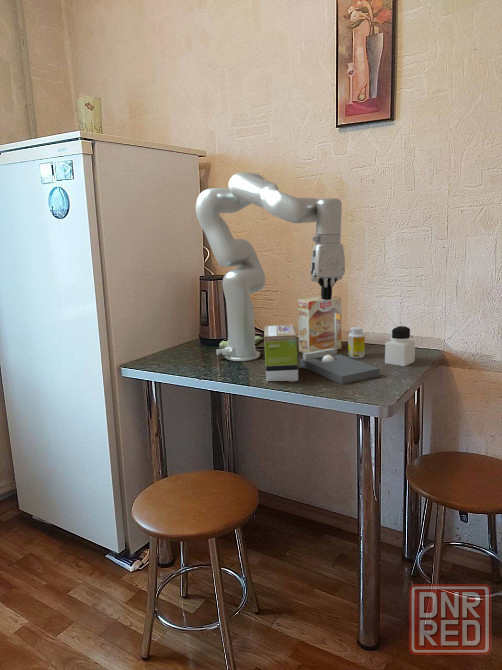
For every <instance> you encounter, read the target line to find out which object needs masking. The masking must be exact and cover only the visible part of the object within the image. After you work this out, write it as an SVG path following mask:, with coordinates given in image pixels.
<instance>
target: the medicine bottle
mask: <svg viewBox="0 0 502 670" xmlns="http://www.w3.org/2000/svg"><path fill="white" fill-rule="evenodd" d="M384 344H385V345H384V363H385V364H387V365H394V366H401V367H406V366H409V365H411V364H414V363H415V358H416V356H415V355H416V341H415V340H411V329H410V328H409V327H408V326H405V325H404V326H403V325H397V326H396V325H395V326H393V327H391V328H390V340H389V341H386V342H384Z"/></svg>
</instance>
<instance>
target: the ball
mask: <svg viewBox="0 0 502 670" xmlns="http://www.w3.org/2000/svg"><path fill="white" fill-rule="evenodd" d="M330 361H334V358H333V357H332V356H331V355H325V356H324V357H323V358H322V362H324V363H325V362H330Z"/></svg>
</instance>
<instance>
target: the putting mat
mask: <svg viewBox="0 0 502 670" xmlns="http://www.w3.org/2000/svg"><path fill="white" fill-rule="evenodd" d="M337 319H338V320H341V321H342V313H341V314H337V313H335V349H334V348H331V349H325V350H320V351H314V352H308V353H303V352H302V358H300V367H302V368H304V369H306V370H309V371H311V372H313V373H316V374H318V375H320V376H322V377H325V378H327V379H329V380H331V381H334V382H336V383H338V384H340V385H344V384H349V383H353V382H359V381H363V380H367V379H372V378H377V377H380V375H381V374H380V373H381V372H380V369H381V368H379V367H376V366H374V365H370V364H368V363H365V362H362V361H360V360H357V359H355V358H351V357H349V356H346V355H343V354H340V353H338V349H337ZM325 355H331V356H332V357H333V358H334V361H330V362H325V363H324V362H322V358H323V357H324V356H325Z"/></svg>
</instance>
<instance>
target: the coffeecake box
mask: <svg viewBox="0 0 502 670" xmlns="http://www.w3.org/2000/svg"><path fill="white" fill-rule="evenodd" d="M297 311H298V313H297V316H298V317H297V319H298V324H297V325H298V329H297V330H298V352H300V353H302V354H303V353H308V352H314V351H320V350H325V349H331V348H334V349H335V313H337V314H341V315H342V296H338V295H333V294H332V296H331V300H324V299H322V298H321V295H320V296H315V297H305V298H300V299H297ZM341 349H342V319H341V320H338V319H337V350H341Z"/></svg>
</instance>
